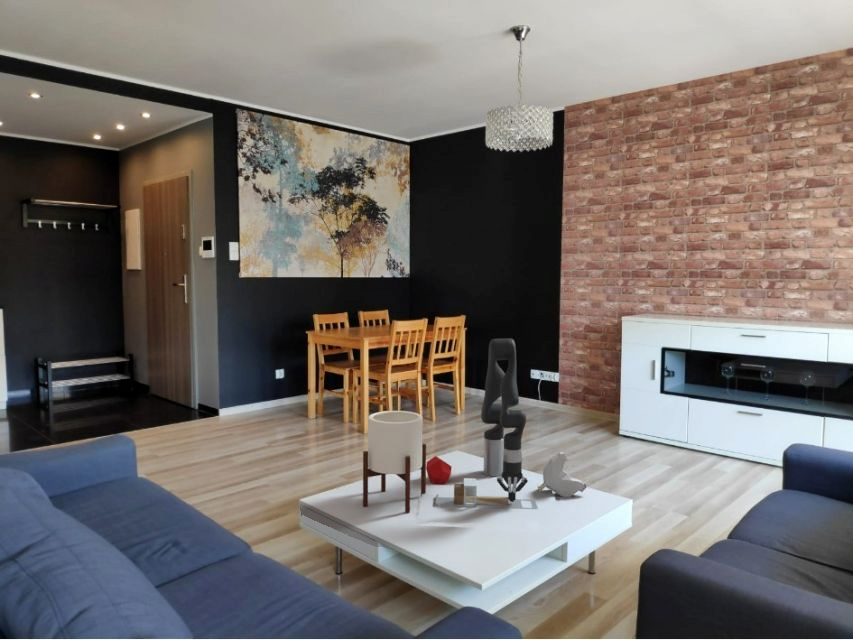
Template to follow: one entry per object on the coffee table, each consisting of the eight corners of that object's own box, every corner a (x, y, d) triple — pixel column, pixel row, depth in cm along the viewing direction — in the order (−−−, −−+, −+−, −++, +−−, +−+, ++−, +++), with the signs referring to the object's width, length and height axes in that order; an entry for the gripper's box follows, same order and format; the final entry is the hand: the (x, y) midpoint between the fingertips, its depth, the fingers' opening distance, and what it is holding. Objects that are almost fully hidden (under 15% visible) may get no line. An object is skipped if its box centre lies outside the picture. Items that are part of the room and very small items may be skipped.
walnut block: (453, 500, 247) (454, 483, 246) (463, 500, 246) (463, 483, 246) (453, 503, 243) (454, 486, 242) (463, 504, 242) (464, 487, 242)
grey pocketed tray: (435, 500, 250) (436, 477, 249) (534, 503, 248) (535, 479, 247) (435, 509, 240) (435, 485, 239) (538, 512, 238) (538, 488, 237)
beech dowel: (463, 501, 245) (463, 495, 245) (507, 502, 245) (507, 496, 244) (463, 503, 243) (463, 497, 243) (508, 504, 242) (508, 498, 242)
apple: (427, 490, 267) (418, 469, 280) (452, 489, 271) (443, 469, 284) (431, 468, 263) (423, 448, 276) (457, 468, 267) (447, 448, 280)
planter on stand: (381, 489, 263) (381, 408, 261) (429, 495, 256) (429, 413, 253) (358, 507, 242) (358, 420, 240) (410, 514, 235) (411, 425, 232)
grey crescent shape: (543, 506, 255) (589, 493, 254) (531, 464, 254) (576, 451, 253) (541, 500, 262) (585, 487, 261) (528, 459, 261) (573, 446, 260)
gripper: (527, 456, 246) (527, 498, 247) (495, 456, 246) (494, 497, 247) (530, 462, 238) (529, 504, 239) (496, 461, 239) (496, 504, 240)
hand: (511, 501), depth 243 cm, fingers closed
